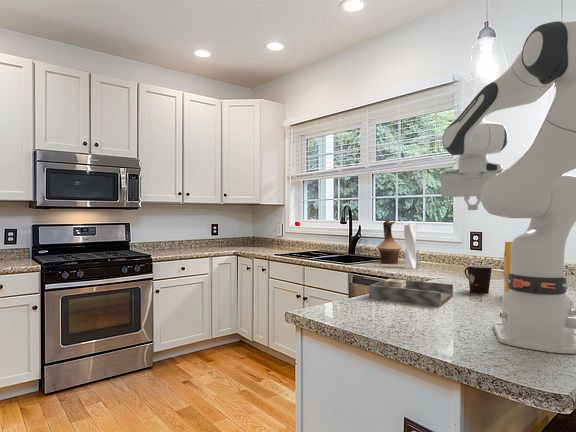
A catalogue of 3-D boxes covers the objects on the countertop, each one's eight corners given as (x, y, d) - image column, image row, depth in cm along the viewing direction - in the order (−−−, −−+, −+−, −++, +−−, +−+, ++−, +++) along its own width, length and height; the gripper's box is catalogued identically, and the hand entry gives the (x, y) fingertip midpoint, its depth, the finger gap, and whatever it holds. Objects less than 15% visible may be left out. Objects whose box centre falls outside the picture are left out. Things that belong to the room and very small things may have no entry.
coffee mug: (495, 294, 143) (495, 267, 143) (470, 293, 144) (470, 267, 144) (485, 289, 154) (485, 264, 154) (462, 288, 156) (462, 263, 156)
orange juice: (535, 301, 131) (535, 243, 131) (506, 299, 135) (505, 242, 135) (531, 297, 138) (531, 241, 138) (503, 295, 142) (503, 241, 142)
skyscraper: (416, 270, 216) (416, 220, 217) (402, 269, 221) (402, 220, 221) (420, 268, 224) (420, 220, 224) (406, 267, 228) (406, 220, 228)
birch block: (405, 291, 141) (405, 280, 141) (400, 293, 136) (400, 282, 136) (390, 289, 144) (390, 278, 144) (384, 291, 139) (384, 280, 139)
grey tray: (452, 296, 138) (452, 284, 139) (440, 306, 122) (440, 292, 122) (388, 289, 152) (388, 278, 152) (369, 298, 135) (369, 285, 135)
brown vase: (371, 262, 257) (371, 220, 257) (395, 261, 260) (395, 220, 260) (382, 264, 240) (382, 220, 240) (407, 264, 243) (407, 220, 243)
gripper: (437, 169, 130) (437, 210, 130) (506, 164, 119) (506, 209, 119) (442, 171, 136) (442, 210, 135) (508, 167, 124) (508, 209, 124)
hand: (472, 209), depth 127 cm, fingers closed
